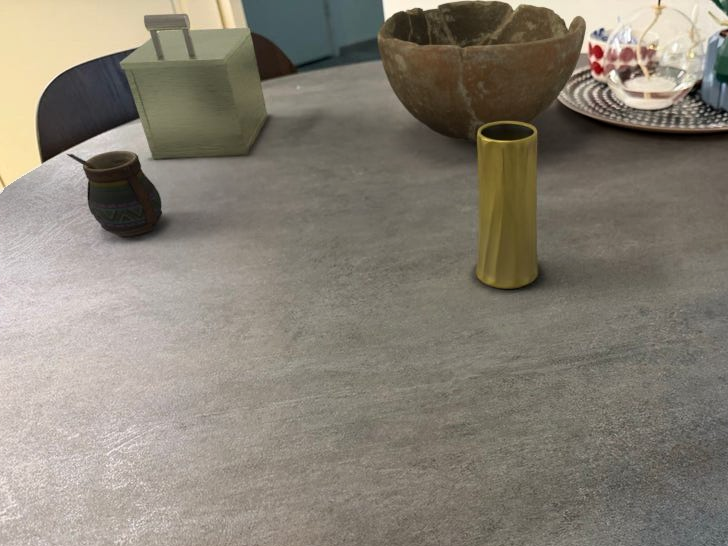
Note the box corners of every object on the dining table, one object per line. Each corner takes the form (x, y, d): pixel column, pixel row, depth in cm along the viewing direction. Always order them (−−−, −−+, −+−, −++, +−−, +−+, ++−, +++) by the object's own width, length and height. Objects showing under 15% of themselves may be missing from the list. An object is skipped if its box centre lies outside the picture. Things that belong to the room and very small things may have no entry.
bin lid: (224, 65, 88) (213, 16, 84) (121, 69, 87) (105, 20, 84) (250, 33, 101) (241, -10, 98) (161, 37, 101) (149, -7, 97)
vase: (480, 257, 72) (477, 118, 63) (540, 259, 71) (545, 119, 62) (472, 288, 67) (466, 142, 58) (535, 291, 66) (540, 144, 58)
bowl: (511, 91, 115) (511, -10, 106) (617, 140, 97) (628, 23, 88) (356, 124, 104) (342, 14, 95) (442, 186, 86) (435, 57, 77)
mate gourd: (182, 219, 80) (156, 134, 74) (132, 249, 75) (99, 159, 69) (136, 209, 83) (106, 125, 77) (83, 237, 77) (47, 149, 71)
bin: (247, 154, 96) (226, 63, 89) (152, 159, 95) (123, 68, 88) (268, 116, 108) (250, 34, 101) (184, 120, 108) (161, 37, 101)
